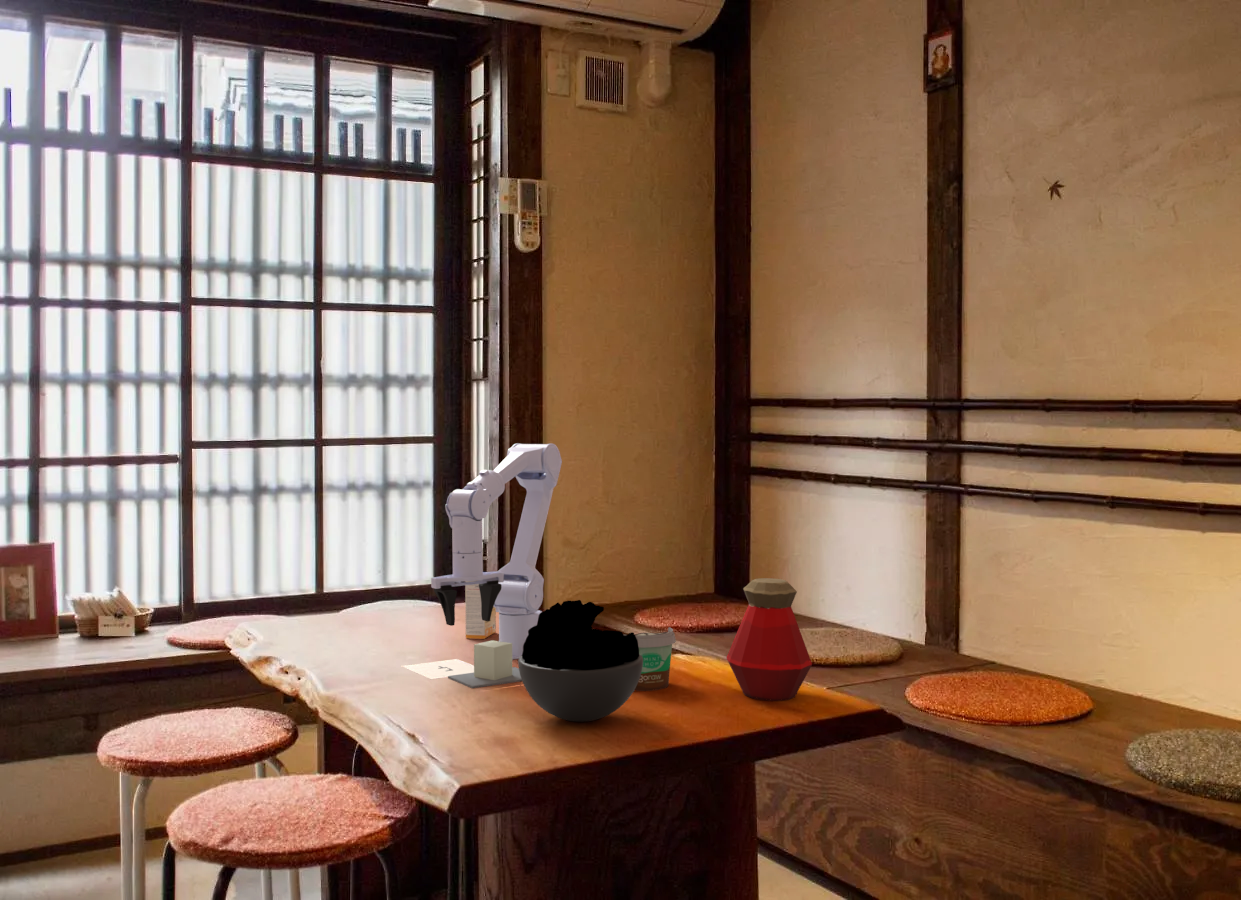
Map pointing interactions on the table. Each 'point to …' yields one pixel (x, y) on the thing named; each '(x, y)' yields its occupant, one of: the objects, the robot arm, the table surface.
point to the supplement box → (477, 615)
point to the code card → (441, 668)
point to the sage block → (493, 660)
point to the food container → (655, 659)
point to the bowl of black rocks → (578, 663)
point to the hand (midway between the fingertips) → (468, 622)
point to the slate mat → (481, 682)
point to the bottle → (769, 643)
